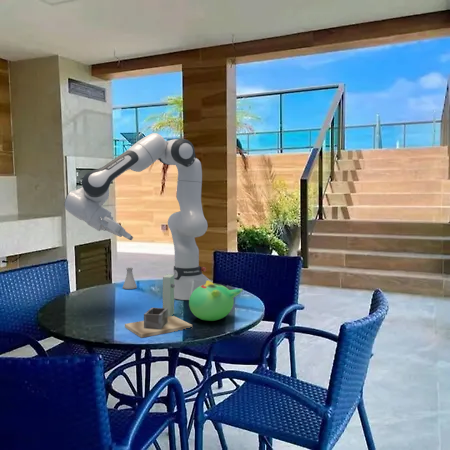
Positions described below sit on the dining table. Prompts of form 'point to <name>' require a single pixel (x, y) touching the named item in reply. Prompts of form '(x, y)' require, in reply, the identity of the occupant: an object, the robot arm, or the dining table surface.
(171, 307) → the tall grey rectangular block
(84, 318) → the dining table surface
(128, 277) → the flask
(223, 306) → the toy bird
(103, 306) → the dining table surface
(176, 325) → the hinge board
